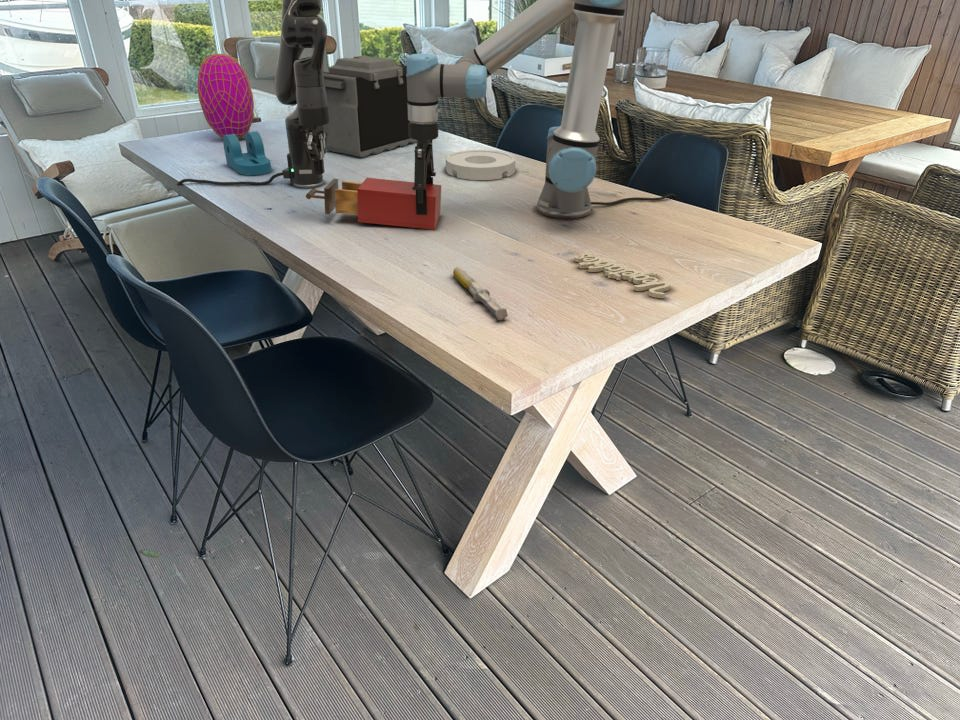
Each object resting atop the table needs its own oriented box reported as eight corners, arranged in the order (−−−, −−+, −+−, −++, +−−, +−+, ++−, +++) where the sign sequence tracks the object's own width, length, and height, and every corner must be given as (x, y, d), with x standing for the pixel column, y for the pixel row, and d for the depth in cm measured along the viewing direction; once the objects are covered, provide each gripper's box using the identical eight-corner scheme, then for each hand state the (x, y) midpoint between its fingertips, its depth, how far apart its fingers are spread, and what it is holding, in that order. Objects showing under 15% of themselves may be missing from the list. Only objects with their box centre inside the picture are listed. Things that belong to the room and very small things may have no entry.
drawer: (304, 212, 182) (302, 186, 178) (314, 201, 190) (313, 176, 186) (396, 221, 181) (396, 195, 177) (403, 210, 189) (403, 185, 185)
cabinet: (357, 222, 181) (357, 188, 176) (367, 209, 190) (366, 177, 186) (434, 229, 180) (435, 196, 176) (439, 216, 189) (441, 184, 185)
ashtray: (448, 160, 240) (448, 149, 238) (514, 162, 240) (514, 150, 238) (443, 179, 220) (443, 166, 218) (515, 180, 220) (515, 168, 218)
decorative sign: (686, 282, 150) (660, 295, 144) (686, 286, 150) (659, 300, 144) (592, 249, 166) (565, 259, 160) (592, 253, 167) (565, 263, 161)
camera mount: (227, 164, 233) (221, 132, 227) (257, 160, 238) (252, 129, 233) (244, 176, 220) (239, 143, 215) (276, 172, 225) (271, 139, 220)
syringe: (449, 274, 155) (449, 263, 153) (465, 272, 156) (464, 260, 154) (490, 323, 135) (491, 310, 133) (508, 319, 136) (508, 307, 134)
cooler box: (383, 133, 276) (378, 52, 261) (425, 141, 265) (422, 56, 250) (314, 150, 251) (304, 61, 235) (358, 160, 240) (350, 67, 224)
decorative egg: (223, 147, 254) (207, 59, 238) (197, 138, 265) (180, 54, 250) (268, 138, 266) (256, 54, 251) (241, 130, 277) (228, 49, 262)
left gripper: (319, 109, 166) (326, 181, 175) (334, 100, 177) (340, 167, 186) (289, 109, 166) (298, 180, 175) (305, 99, 178) (313, 166, 187)
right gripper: (431, 132, 162) (432, 222, 173) (444, 113, 181) (444, 195, 193) (399, 131, 162) (403, 221, 173) (416, 112, 182) (418, 193, 193)
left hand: (319, 173), depth 181 cm, fingers closed
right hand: (425, 207), depth 183 cm, fingers closed on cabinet, 11 cm apart
